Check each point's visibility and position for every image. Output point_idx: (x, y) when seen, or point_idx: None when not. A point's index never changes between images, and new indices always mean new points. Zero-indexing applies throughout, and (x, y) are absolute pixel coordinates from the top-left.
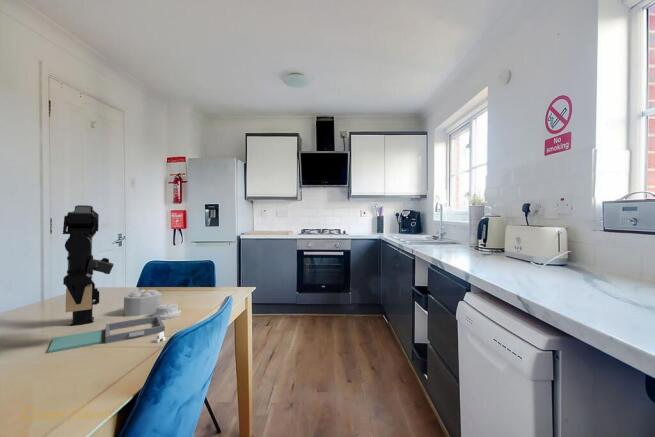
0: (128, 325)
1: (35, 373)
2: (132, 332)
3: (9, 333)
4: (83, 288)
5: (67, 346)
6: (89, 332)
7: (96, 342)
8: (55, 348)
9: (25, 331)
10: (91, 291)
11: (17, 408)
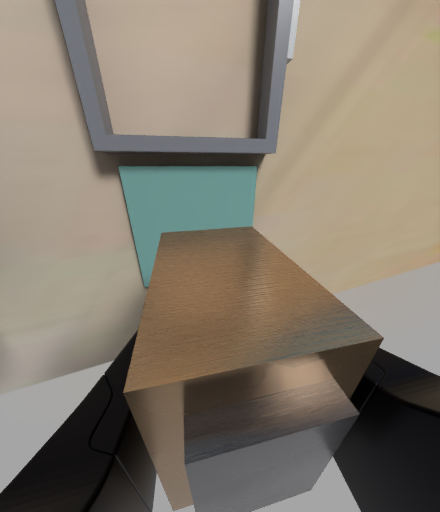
0: (91, 36)
1: (338, 266)
2: (287, 39)
3: (36, 378)
4: (417, 375)
5: None
6: (138, 206)
7: (255, 179)
8: None
9: (27, 358)
10: (322, 288)
11: (431, 256)
